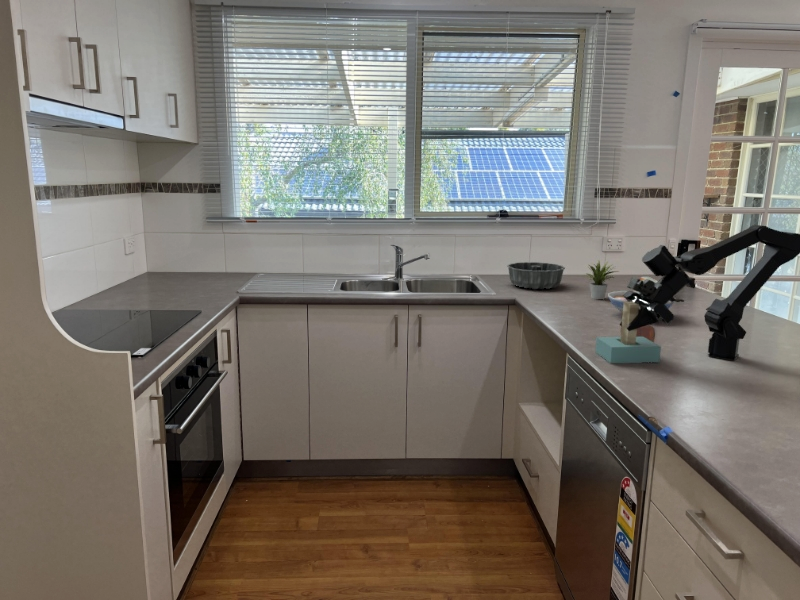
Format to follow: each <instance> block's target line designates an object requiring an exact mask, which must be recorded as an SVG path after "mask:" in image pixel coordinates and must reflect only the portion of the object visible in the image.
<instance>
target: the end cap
mask: <svg viewBox="0 0 800 600" xmlns="http://www.w3.org/2000/svg"><path fill="white" fill-rule="evenodd" d="M620 340H621V336H608V337H607V336H604V337H603V336H599V337H598V336H597V337H596V342H595V353H596V354H597V353H598V354H599V355H598V354H597V355H598V356H600V355H601V356H602V357H603V358H602V357H601V356H600V357H601V358H602V359H604V358H605V359H606V360H605V359H604V360H605V361H607V362H608V361H609V362H610V364H642V362H648V364H650V363H649V362H651V364H652V362H658V363H660V360H661V350H662V346H661V345H659V344H657V343H656V342H655V341H654V342H652V341H650V340H648V339H646V338H645V337H636V343H635V345H624V344H623V343H621V342H620ZM609 362H608V363H609Z"/></svg>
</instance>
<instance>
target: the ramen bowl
mask: <svg viewBox="0 0 800 600" xmlns="http://www.w3.org/2000/svg"><path fill="white" fill-rule="evenodd" d="M627 291H628V290H619V291H618V290H616V291H612V292H608V294H607V295H608V298H609V301H610V302H611V304H612V305H613V307H614V308H615V309H616V310H618V311H619V312H622V313H623V304H624V302H627V300H626V299H625V298H624V297H623V295H624V294H625V293H626V292H627ZM633 291H634V292H636V293H639V292H637V291H635V290H633ZM641 298H642V297H641ZM674 299H675V300H674V301H673V302H671V301H669V302H667V303H666V304H665V306H666V307H667V308H668V309H669V310H670V308H671V307H672V306H673V305H674V303H675V302H676V303H684V302H685V299H680V298H678V297H677V298H676V297H674Z"/></svg>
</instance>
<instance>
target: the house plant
mask: <svg viewBox="0 0 800 600" xmlns="http://www.w3.org/2000/svg"><path fill="white" fill-rule="evenodd" d="M608 263H609V261H607V262H606V263H605V264H604V265H603V266H602V268H601V262H600V260H598V262H597V263H596V264H594V263H593V265H594V266H595V267H594V266H592V265H590V264H588V268H589V270H590V271H591V272H592V274H590V273H585V275H586V276H589V280H590V281H591V280H593V281H594V282H590V283H589V289H590V295H591V297H590V298H591V299H592V298H593V299H592V300H596V299H603V300H605V298H606V293H607V289H608V283H605V282H606V281H607V280H608V281H610V279H614V276H615V274H614V275H611V276H609V274H613V273H618V272H620V271H619V270H614V271H611V270H613V269H615V266H613V264H610V265H608ZM607 265H608V266H607ZM612 266H613V267H612Z"/></svg>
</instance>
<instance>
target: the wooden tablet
mask: <svg viewBox="0 0 800 600" xmlns="http://www.w3.org/2000/svg"><path fill="white" fill-rule="evenodd" d="M621 328H622V327H621V326H620V329H621ZM654 333H655V330H654V326H652V325H651V324H650V325H646V326H643V327H640V328H637V332H636V337H645V338H646V339H648V340H650V341H652V342H654V343H655V340H654V339H655V337H654V336H655V335H654Z"/></svg>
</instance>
